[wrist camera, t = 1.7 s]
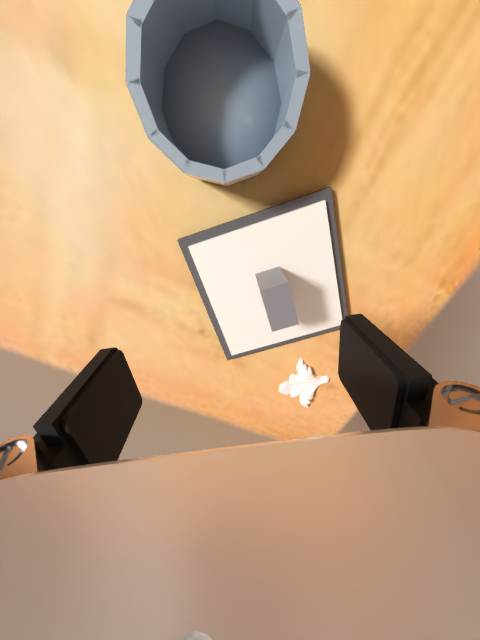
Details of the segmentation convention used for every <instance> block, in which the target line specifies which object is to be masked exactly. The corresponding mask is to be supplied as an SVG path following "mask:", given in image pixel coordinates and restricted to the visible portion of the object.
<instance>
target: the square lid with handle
mask: <svg viewBox="0 0 480 640" xmlns="http://www.w3.org/2000/svg"><path fill="white" fill-rule="evenodd" d="M188 248H189V251H190V253H191V256H192V258H193V261H194V263H195V265H196V268H197V270H198V273H199V275H200V278H201V280H202V283H203V285H204V288H205V290H206V293H207V295H208V298H209V300H210V303H211V305H212V308H213V310H214V313H215V315H216V318H217V320H218V322H219V325H220V327H221V330H222V332H223V335H224V337H225V340H226V342H227V345H228V347H229V350H230V352H231V355H235V354H239V353H243V352H246V351H250V350H253V349H257V348H260V347H264V346H268V345H271V344H275V343H278V342H282V341H286V340H289V339H293V338H296V337H300V336H303V335H307V334H311V333H314V332H318V331H321V330H325V329H329V328H332V327H336V326H339V325H340V324H341V320H342V314H341V307H340V300H339V293H338V286H337V279H336V272H335V264H334V257H333V250H332V243H331V236H330V229H329V222H328V215H327V208H326V201H325V200H322V201H319V202H316V203H313V204H311V205H308V206H305V207H302V208H299V209H296V210H293V211H290V212H287V213H284V214H281V215H278V216H275V217H272V218H269V219H266V220H263V221H261V222H258V223H255V224H252V225H249V226H246V227H243V228H240V229H237V230H234V231H231V232H228V233H225V234H222V235H219V236H216V237H213V238H210V239H208V240H205V241H202V242H199V243H196V244H193V245H190V246H188Z"/></svg>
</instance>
